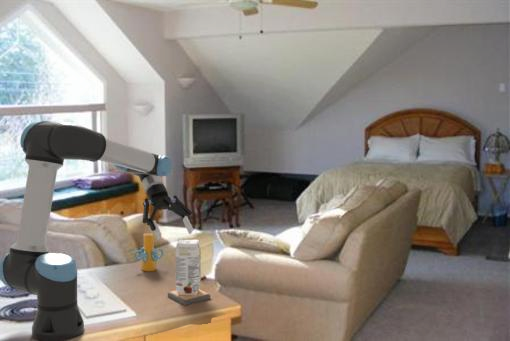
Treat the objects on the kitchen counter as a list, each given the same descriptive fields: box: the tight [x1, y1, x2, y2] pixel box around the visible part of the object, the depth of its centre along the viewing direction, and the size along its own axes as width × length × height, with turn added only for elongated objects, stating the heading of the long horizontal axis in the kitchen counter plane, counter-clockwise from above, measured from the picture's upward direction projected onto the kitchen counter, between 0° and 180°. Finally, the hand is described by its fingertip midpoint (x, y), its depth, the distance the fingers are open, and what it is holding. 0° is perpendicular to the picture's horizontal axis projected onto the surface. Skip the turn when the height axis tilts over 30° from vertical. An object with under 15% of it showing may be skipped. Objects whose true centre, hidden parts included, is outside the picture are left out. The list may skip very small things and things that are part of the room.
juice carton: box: [175, 238, 202, 296], centre depth 212 cm, size 8×9×19 cm
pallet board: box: [167, 288, 211, 306], centre depth 214 cm, size 11×11×2 cm
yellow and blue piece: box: [133, 232, 164, 272], centre depth 246 cm, size 12×10×15 cm
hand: (175, 234), depth 218 cm, fingers open, 13 cm apart
